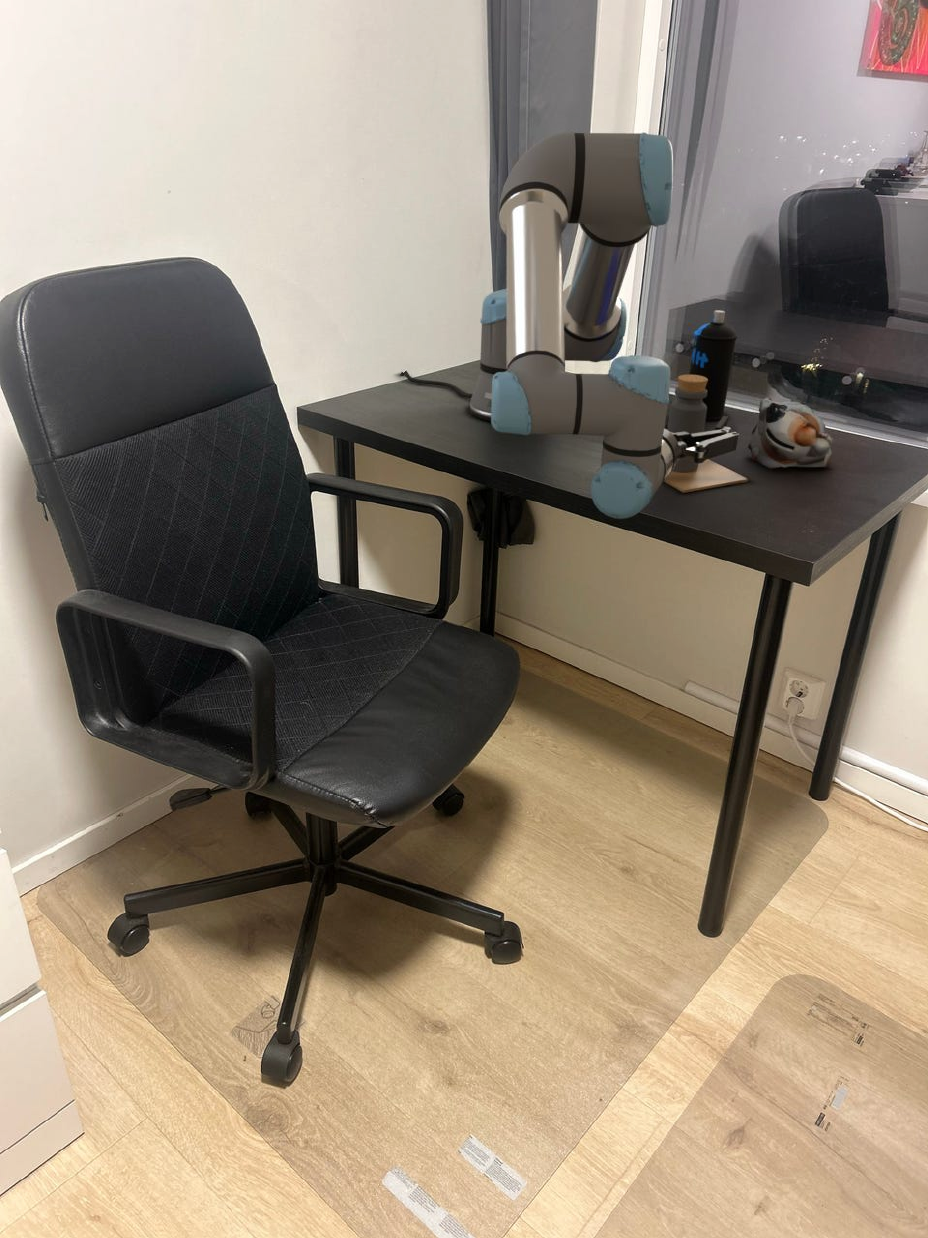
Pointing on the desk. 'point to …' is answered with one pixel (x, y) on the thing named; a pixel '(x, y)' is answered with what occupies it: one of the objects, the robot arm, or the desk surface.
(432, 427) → the desk surface
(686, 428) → the bottle
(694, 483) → the wooden board
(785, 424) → the lucky cat figurine
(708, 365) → the aerosol can
